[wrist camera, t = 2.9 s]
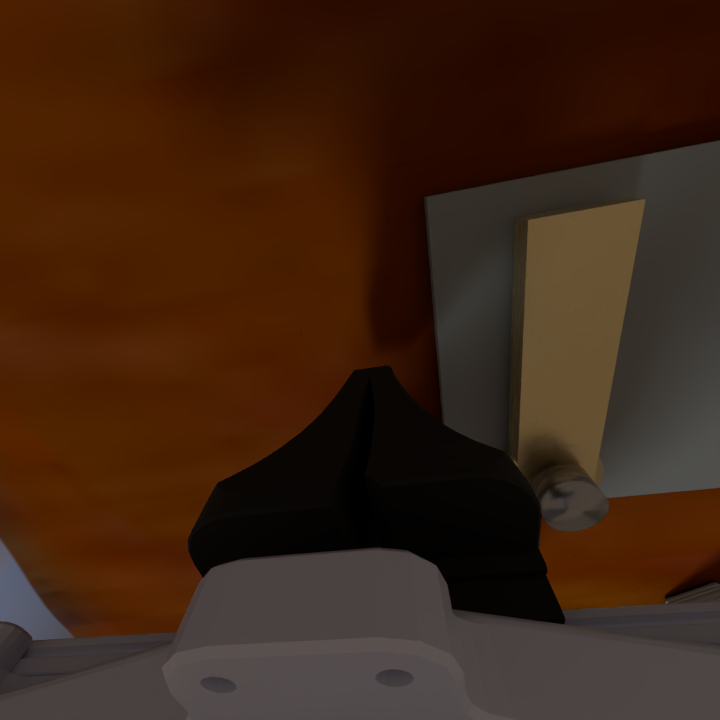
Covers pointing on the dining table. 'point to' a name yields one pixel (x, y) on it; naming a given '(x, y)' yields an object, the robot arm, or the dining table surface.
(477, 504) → the robot arm
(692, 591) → the grey padlock
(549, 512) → the pin cap
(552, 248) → the brass link
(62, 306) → the dining table surface
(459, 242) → the slate board
